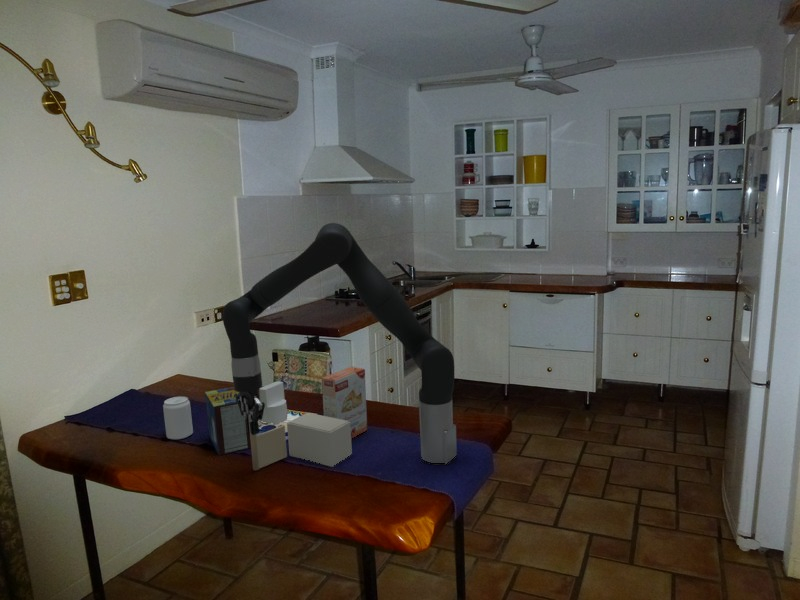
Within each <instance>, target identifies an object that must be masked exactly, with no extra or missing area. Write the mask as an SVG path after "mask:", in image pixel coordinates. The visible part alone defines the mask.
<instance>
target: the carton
mask: <svg viewBox="0 0 800 600" xmlns="http://www.w3.org/2000/svg"><path fill="white" fill-rule="evenodd" d="M286 426H287V440H288V450H289V451H288V453H289V456H290V457H293V458H297V459H300V458H301V460H304V459H305V461H308V460H310V461H309V462H312V461H313V462H312V463H315V462H316V463H315V464H319V463H320V465H324V466H326V467H327V466H328V467H330V468H333V467H335V466H337V465H338V464H339V462H340V461H341V462H343V461H344V460H346V459H347V457H348V456H349V457H351V456H352V455H353V448H352V439H351V428H350V422H348V421H346V420H341V419H336V418H332V417H327V416H324V415H322V414H321V415H320V414H318V413H317V414H316V413H312V412H306V413H304V414H302V415H300V416H298V417H296V418H293V419H292V420H290V421H288V422H286ZM351 454H352V455H351ZM350 455H351V456H350ZM349 457H348V458H349ZM345 458H346V459H345ZM342 460H343V461H342ZM341 462H340V463H341ZM337 463H338V464H337ZM336 464H337V465H336ZM334 465H335V466H334Z"/></svg>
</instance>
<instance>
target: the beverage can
mask: <svg viewBox="0 0 800 600" xmlns="http://www.w3.org/2000/svg"><path fill="white" fill-rule="evenodd" d="M162 409H163V419H164V426H165V436H166V438H167V439H170V440H183V439H186V438H189V436H191V435H192V434H193V433H194V427H193V419H192V409H191V401H190V400H189V397H187V396H174V397H170V398H167V399H166V400H164V402H163V405H162Z"/></svg>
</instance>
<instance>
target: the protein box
mask: <svg viewBox="0 0 800 600" xmlns="http://www.w3.org/2000/svg"><path fill="white" fill-rule="evenodd" d="M204 395H205V404H206V406H205V407H206V416H207V424H208V431H209V439H210V441H211V443H212V445H213V446H214V449H215V451H216V453H217V455H218V456H222V455H226V454H232V453H235V452H239V450H240V451H244V449H245V450H249V449H251V441H250V433H248V432H247V427H246V419H244V415H243V416H242V415H241V412H240V409H239V406H238V403H237V400H236V395H239V392H237V391H235V390H234V386H232V387H227V388H226V387H225V388H220V389H214V390H209V391H204Z"/></svg>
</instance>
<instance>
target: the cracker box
mask: <svg viewBox="0 0 800 600" xmlns="http://www.w3.org/2000/svg"><path fill="white" fill-rule="evenodd" d="M321 388H322V389H321V390H322V405H323V407H322V408H323V416H327V417H332V418H336V419H341V420H346V421H348V422H350V428H351V440H353V439H355V438H357V437H358V436H357V435H359V434H361V433H363V432H365V431H366V430H367V431H368V419H367V418H368V417H367V416H368V414H367V413H368V412H367V392H366V391H367V390H366V370H365V369H364V368H363V367H355V366H350V367H347V368H344V369H342V370H338V371H337V372H334V373H330V374H327V375H326V376H323V377H321ZM365 433H366V432H365ZM363 434H364V433H363ZM361 435H362V434H361ZM356 436H357V437H356ZM359 436H360V435H359ZM354 437H355V438H354ZM352 438H353V439H352Z"/></svg>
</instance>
